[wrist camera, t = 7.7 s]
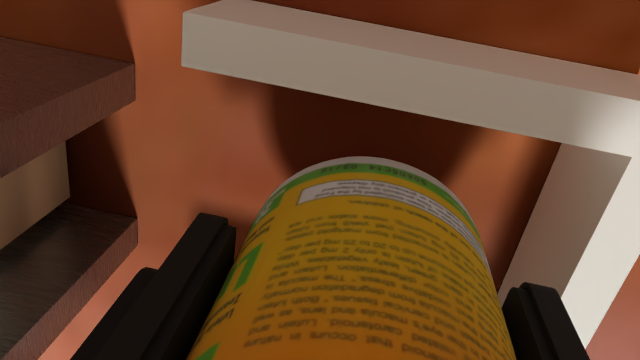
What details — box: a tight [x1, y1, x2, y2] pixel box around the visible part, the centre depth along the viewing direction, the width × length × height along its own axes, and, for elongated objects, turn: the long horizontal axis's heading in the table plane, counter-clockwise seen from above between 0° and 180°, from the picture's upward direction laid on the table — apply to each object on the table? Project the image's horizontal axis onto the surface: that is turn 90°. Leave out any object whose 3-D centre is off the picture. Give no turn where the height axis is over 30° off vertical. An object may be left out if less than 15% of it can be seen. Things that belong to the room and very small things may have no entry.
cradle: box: [181, 0, 640, 349], centre depth 12 cm, size 10×10×3 cm
